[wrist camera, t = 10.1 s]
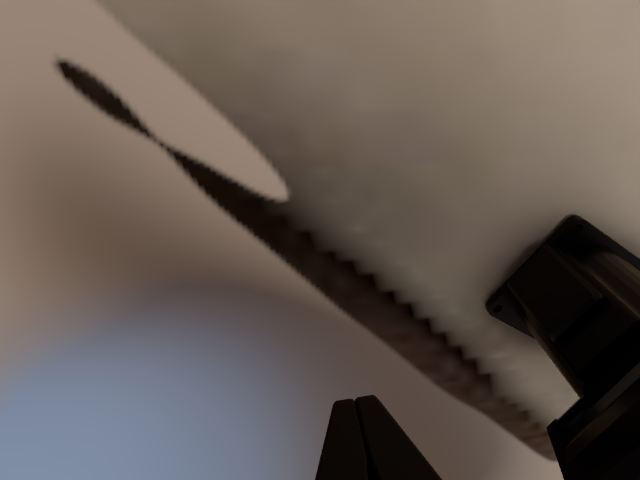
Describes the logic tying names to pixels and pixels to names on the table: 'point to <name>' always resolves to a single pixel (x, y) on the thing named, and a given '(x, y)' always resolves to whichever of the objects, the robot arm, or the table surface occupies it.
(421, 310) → the table surface
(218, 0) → the table surface
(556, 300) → the robot arm
